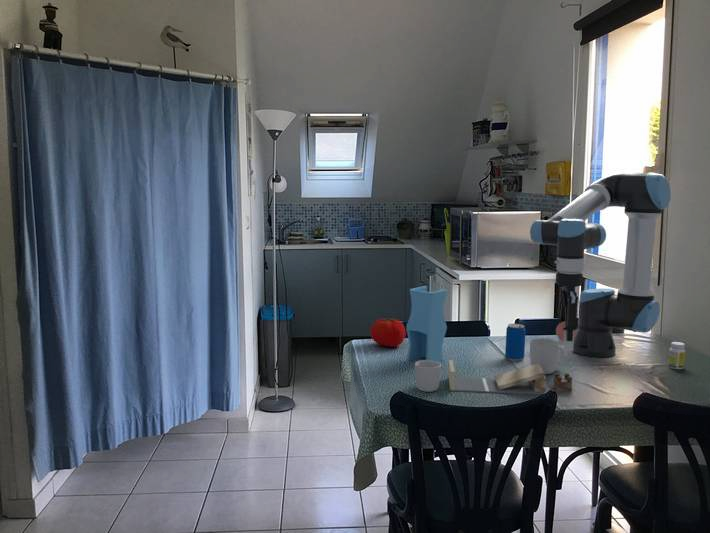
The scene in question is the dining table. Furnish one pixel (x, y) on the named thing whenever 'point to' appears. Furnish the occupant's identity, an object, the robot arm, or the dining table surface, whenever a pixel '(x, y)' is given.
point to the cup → (427, 375)
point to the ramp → (523, 378)
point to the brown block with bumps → (562, 382)
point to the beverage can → (515, 342)
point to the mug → (546, 354)
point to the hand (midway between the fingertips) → (565, 347)
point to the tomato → (388, 332)
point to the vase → (426, 324)
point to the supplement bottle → (676, 355)
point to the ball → (562, 331)
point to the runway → (486, 385)
